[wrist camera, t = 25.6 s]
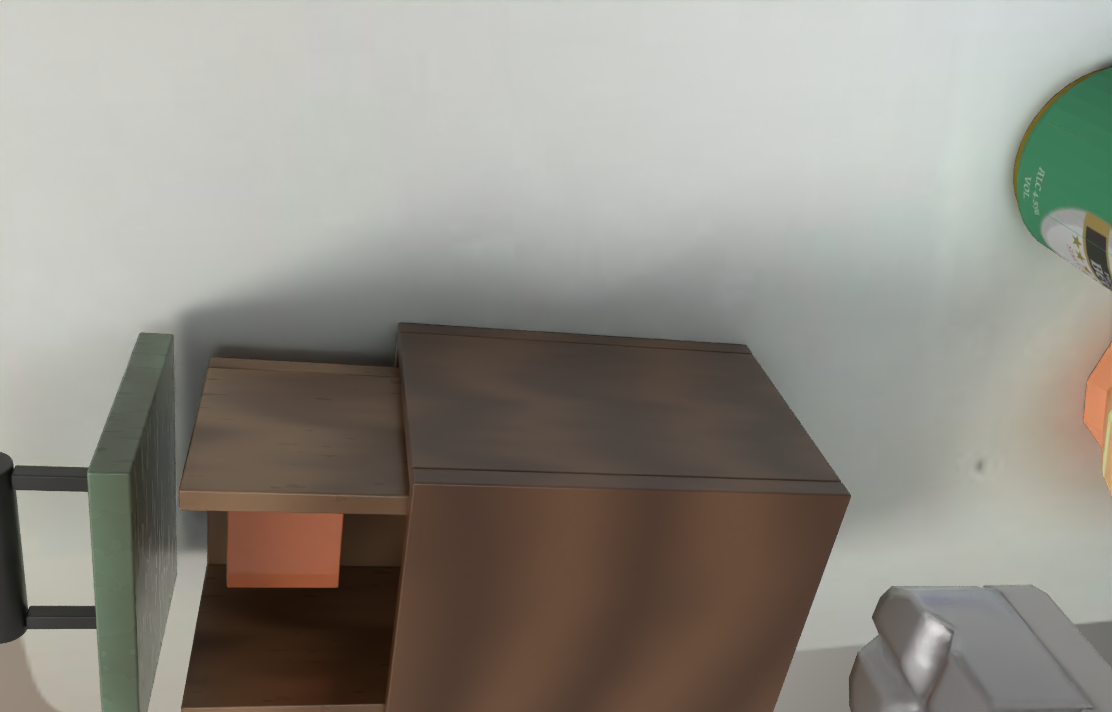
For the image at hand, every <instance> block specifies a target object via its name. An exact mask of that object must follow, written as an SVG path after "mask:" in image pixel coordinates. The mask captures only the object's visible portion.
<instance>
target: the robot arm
mask: <svg viewBox="0 0 1112 712" xmlns="http://www.w3.org/2000/svg"><path fill="white" fill-rule="evenodd" d="M872 619H873V621H874V624H875V626H876V628H877V630H878V633H879V635H878V636H876V637H875V638H874V639H873V640H872V641H870V642H869V643H868V644H867V645H865V646H864V647H863V648H862V649H861V650H860V651H859V652H858V653H857V656H856V659H855V662H854V665H853V668H852V671H851V674H850V677H849V706H850V710H851V712H1112V668H1111V667H1110V666H1109V665H1108V664H1107V663H1106V661H1105V660H1104V659H1103V658H1102V657H1101V656H1100V655H1099V653H1098V652H1097V651H1096V650H1095V649H1094V647H1093V646H1092V645H1091V644H1090V643H1089V642H1088V640H1087V639H1086V638H1085V637H1084V636H1083V635H1082V633H1080V631H1079V630H1078V629H1077V628H1076V627H1075V625H1074V624H1073V623H1072V622H1071V621H1070V620H1069V618H1068V617H1067V616H1066V615H1065V614H1064V613H1063V611H1062V610H1061V609H1060V608H1059V607H1058V606H1057V604H1056V603H1055V602H1054V601H1053V600H1052V599H1051V597H1050V596H1049V595H1048V594H1047V593H1045V592H1043V591H1042V590H1040V589H1038V588H1036V587H1034V586H1033V585H985V586H983V587H979V586H892V587H890V588H889V589H888V590H887V591H886V592H885V593H884V594H883V595H882V596H881V597H880V599H879V601H878V604H877V606H876V608H875V611H874V613H873V616H872Z"/></svg>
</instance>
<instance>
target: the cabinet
mask: <svg viewBox="0 0 1112 712" xmlns="http://www.w3.org/2000/svg"><path fill="white" fill-rule="evenodd" d="M394 367H399V369H400V381H401V392H402V404H403V416H404V427H405V439H406V451H407V462H408V474H409V485H410V490H409V498H408V507H407V516H406V524H405V533H404V542H403V550H402V559H401V567H400V576H399V585H398V593H397V602H396V610H395V619H394V628H393V636H392V645H391V653H390V662H389V671H388V679H387V688H386V697H385V705H384V712H773V710H774V708H775V705H776V702H777V699H778V697H779V694H780V691H781V688H782V686H783V683H784V680H785V677H786V675H787V672H788V669H789V666H790V663H791V661H792V658H793V655H794V652H795V650H796V647H797V644H798V641H799V639H800V636H801V633H802V630H803V628H804V625H805V622H806V619H807V617H808V614H809V611H810V608H811V606H812V603H813V600H814V597H815V594H816V592H817V589H818V586H819V583H820V581H821V578H822V575H823V572H824V570H825V567H826V564H827V561H828V559H829V556H830V553H831V550H832V548H833V545H834V542H835V539H836V536H837V534H838V531H839V528H840V525H841V523H842V520H843V517H844V514H845V512H846V509H847V506H848V503H849V501H850V498H851V495H850V493H849V492H848V490H847V489H846V488H845V486H844V485H843V483H841V480H840V479H839V478H838V476H837V475H836V473H835V472H834V470H833V469H832V468H831V466H830V465H829V463H828V462H827V460H826V459H825V458H824V456H823V455H822V453H821V452H820V450H819V449H818V448H817V446H816V445H815V443H814V442H813V440H812V439H811V437H810V436H809V435H808V433H807V432H806V430H805V429H804V427H803V426H802V425H801V423H800V422H799V420H798V419H797V417H796V416H795V415H794V413H793V412H792V410H791V409H790V407H789V406H788V405H787V403H786V402H785V400H784V399H783V397H782V396H781V395H780V393H779V392H778V390H777V389H776V387H775V386H774V385H773V383H772V382H771V380H770V379H769V377H768V376H767V374H766V373H765V372H764V370H763V369H762V367H761V366H760V364H759V363H758V362H757V360H756V359H755V357H754V356H753V355H752V353H751V351H750V350H749V348H748V347H747V346H746V345H735V344H720V343H704V342H689V341H673V340H658V339H642V338H627V337H611V336H596V335H580V334H565V333H549V332H534V331H518V330H503V329H487V328H471V327H456V326H440V325H425V324H409V323H399V324H398V334H397V344H396V354H395V364H394Z"/></svg>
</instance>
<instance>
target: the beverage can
mask: <svg viewBox="0 0 1112 712" xmlns="http://www.w3.org/2000/svg"><path fill="white" fill-rule="evenodd" d="M1014 190H1015V196H1016V199H1017V202H1018V204H1019V210H1020V213H1021V216H1022V219H1023V222H1024V223H1025V225H1026V227H1027V229H1028V230H1029V232H1030V233H1031V234H1032V235H1033V236H1034V237H1035V238H1036V240H1037V241H1039V242H1040V243H1042V244H1043V245H1044V246H1046V247H1047V248H1049V249H1050V250H1052V251H1053V252H1055V253H1056V254H1058V255H1059V256H1061V257H1062V258H1064V259H1065V260H1067V261H1068V262H1070V263H1071V264H1072V265H1074V266H1075V267H1077V268H1078V269H1080V270H1081V271H1083V272H1084V273H1086V274H1087V275H1089V276H1090V277H1092V278H1093V279H1095V280H1096V281H1098V282H1099V283H1101V284H1102V285H1104V286H1105V287H1107V288H1108V289H1109V290H1111V291H1112V67H1111V68H1106V69H1103V70H1099V71H1095V72H1093V73H1090V74H1088V75H1086V76H1083V77H1081V78H1079V79H1078V80H1076V81H1074V82H1073V83H1071V84H1069V85H1068V86H1066V87H1065V88H1064V89H1062V90H1061V91H1060V92H1059V93H1057V94H1056V95H1055V96H1054V97H1053V98H1052V99H1051V100H1050V101H1049V102H1048V103H1047V104H1046V105H1045V106H1044V107H1043V108H1042V110H1041V111H1040V112H1039V113H1038V114H1037V116H1036V117H1035V118H1034V120H1033V122H1032V123H1031V125H1030V126H1029V128H1028V129H1027V131H1026V133H1025V135H1024V138H1023V140H1022V142H1021V144H1020V147H1019V150H1018V153H1017V156H1016V161H1015V167H1014Z"/></svg>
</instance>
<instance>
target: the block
mask: <svg viewBox="0 0 1112 712" xmlns="http://www.w3.org/2000/svg"><path fill="white" fill-rule="evenodd" d="M343 524H344V514H335V513H289V512H243V511H227V587H228V588H338V586H339V576H340V563H341V550H342V537H343Z"/></svg>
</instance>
